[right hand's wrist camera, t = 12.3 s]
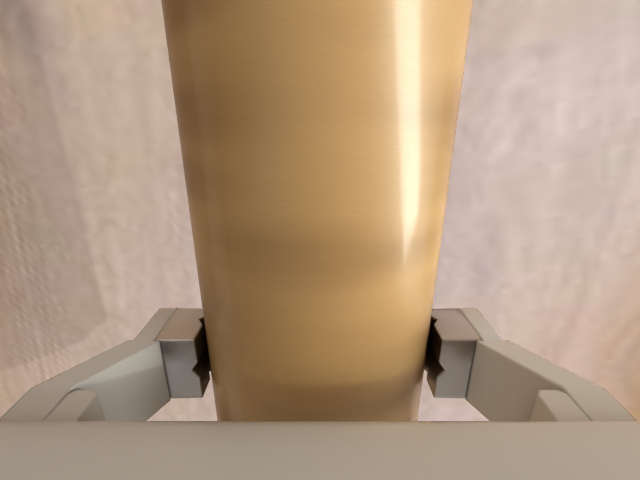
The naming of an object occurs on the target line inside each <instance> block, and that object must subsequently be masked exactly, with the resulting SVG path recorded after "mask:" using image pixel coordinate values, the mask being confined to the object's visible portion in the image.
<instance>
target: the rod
mask: <svg viewBox="0 0 640 480" xmlns="http://www.w3.org/2000/svg"><path fill="white" fill-rule="evenodd" d="M161 1H162V9H163V16H164V24H165V31H166V39H167V46H168V54H169V61H170V68H171V76H172V83H173V91H174V98H175V106H176V113H177V121H178V128H179V136H180V143H181V151H182V158H183V166H184V173H185V181H186V188H187V195H188V203H189V210H190V218H191V225H192V233H193V240H194V248H195V255H196V263H197V270H198V278H199V285H200V293H201V300H202V307H203V315H204V322H205V330H206V337H207V345H208V352H209V360H210V367H211V375H212V382H213V390H214V397H215V405H216V412H217V419H218V421H417V418H418V410H419V403H420V395H421V388H422V380H423V373H424V365H425V358H426V350H427V343H428V335H429V328H430V320H431V313H432V305H433V298H434V290H435V283H436V275H437V268H438V260H439V253H440V245H441V238H442V231H443V223H444V216H445V208H446V201H447V193H448V186H449V178H450V171H451V163H452V156H453V148H454V141H455V133H456V126H457V118H458V111H459V103H460V96H461V88H462V81H463V73H464V66H465V58H466V51H467V43H468V36H469V28H470V21H471V13H472V6H473V0H161Z"/></svg>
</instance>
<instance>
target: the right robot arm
mask: <svg viewBox="0 0 640 480" xmlns="http://www.w3.org/2000/svg"><path fill="white" fill-rule="evenodd" d="M424 369H425V370H426V371H427V381H428V384H429V386H430V389H431V391H432V394H433V396H434V397H437V398H466V400H467V401H468V402H469V403H470V404H471V405H473V406H474V407H475V408H476V409H477V410H478V411H479V412H480V413H482V414H483V415H484V416H485V417H486V418H487V419H488V420H490V421H147V420H148V419H149V418H150V417H151V416H152V415H154V414H155V413H156V412H157V411H158V410H159V409H161V408H162V407H163V406H164V405H165V404H166V403H167V402H169V401H170V398H198V397H203V395H204V392H205V390H206V388H207V385H208V383H209V380H210V375H209V371H211V367H210V360H209V352H208V345H207V337H206V330H205V322H204V315H203V309H199V308H162V309H159V310H158V311H157V312H156V314H155V315H154V316H153V317H152V318H151V320H150V321H149V322H148V323H147V325H146V326H145V327H144V328H143V329H142V331H141V332H140V333H139V334H138V336H137V337H136V338H135V339H134V340H133V341H126V342H124V343H122V344H120V345H118V346H116V347H114V348H112V349H110V350H108V351H106V352H104V353H102V354H100V355H98V356H96V357H94V358H92V359H90V360H88V361H85V362H83V363H81V364H79V365H77V366H75V367H73V368H71V369H69V370H67V371H65V372H63V373H61V374H59V375H57V376H55V377H53V378H51V379H49V380H47V381H45V382H43V383H41V384H39V385H37V386H35V387H33V388H31V389H30V390H29V391H28V392H27V393H26V394H25V395H24V396H23V397H22V398H21V399H19V400H18V401H17V402H16V403H15V404H14V405H13V406H12V407H11V408H10V409H9V410H8V411H7V412H6V413H5V414H4V415H3V416H2V417H1V418H0V480H640V421H637V420H636V419H635V418H634V417H633V416H632V415H631V414H630V413H629V412H628V411H627V410H626V409H625V408H624V407H623V406H622V405H621V404H620V403H619V402H618V401H617V400H616V399H615V398H614V397H613V396H612V395H611V394H610V393H609V392H608V391H607V390H605V389H604V388H602V387H600V386H598V385H596V384H594V383H592V382H590V381H588V380H586V379H584V378H582V377H580V376H578V375H576V374H574V373H572V372H570V371H568V370H566V369H564V368H562V367H560V366H558V365H556V364H554V363H552V362H550V361H548V360H546V359H544V358H542V357H540V356H538V355H536V354H534V353H532V352H530V351H528V350H526V349H524V348H522V347H520V346H518V345H516V344H514V343H512V342H510V341H503V340H502V339H501V338H500V337H499V335H498V334H497V333H496V332H495V330H494V329H493V328H492V327H491V325H490V324H489V323H488V322H487V320H486V319H485V318H484V317H483V315H482V314H481V313H480V312H479V310H478V309H476V308H453V309H432V313H431V320H430V328H429V335H428V343H427V350H426V358H425V365H424Z"/></svg>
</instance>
